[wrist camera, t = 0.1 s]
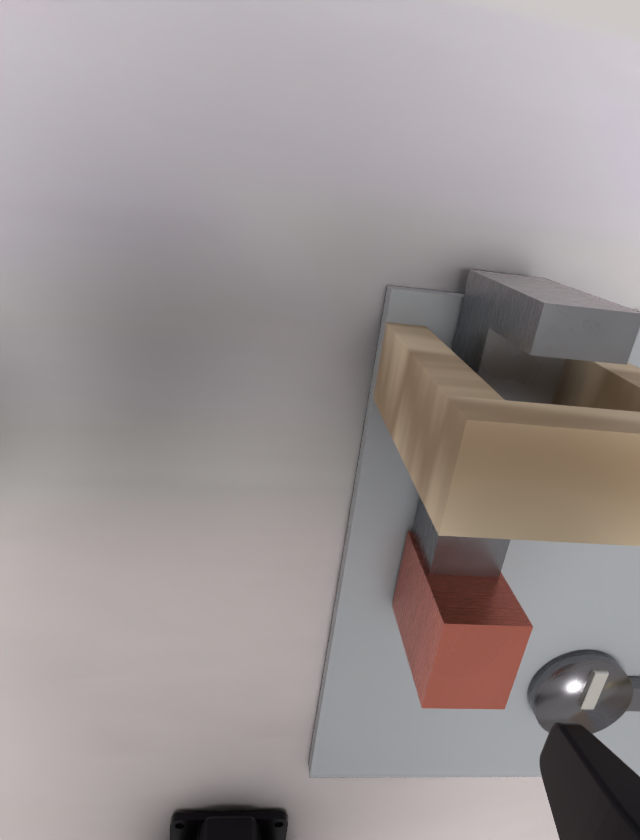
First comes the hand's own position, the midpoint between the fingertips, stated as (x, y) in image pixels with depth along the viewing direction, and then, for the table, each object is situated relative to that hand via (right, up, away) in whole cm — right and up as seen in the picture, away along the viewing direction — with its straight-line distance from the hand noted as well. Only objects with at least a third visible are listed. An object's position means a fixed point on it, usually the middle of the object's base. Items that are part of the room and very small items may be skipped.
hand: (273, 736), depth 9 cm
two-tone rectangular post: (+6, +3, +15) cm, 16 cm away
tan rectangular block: (+7, +7, +13) cm, 16 cm away
